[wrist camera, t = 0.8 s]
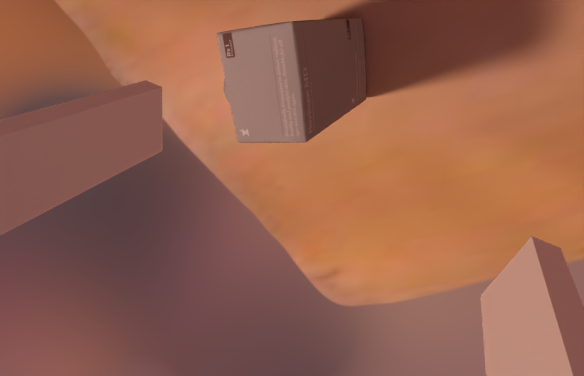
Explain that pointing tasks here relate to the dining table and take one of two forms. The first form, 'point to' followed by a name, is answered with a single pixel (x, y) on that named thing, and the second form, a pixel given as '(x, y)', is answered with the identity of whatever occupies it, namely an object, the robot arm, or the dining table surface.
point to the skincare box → (292, 77)
